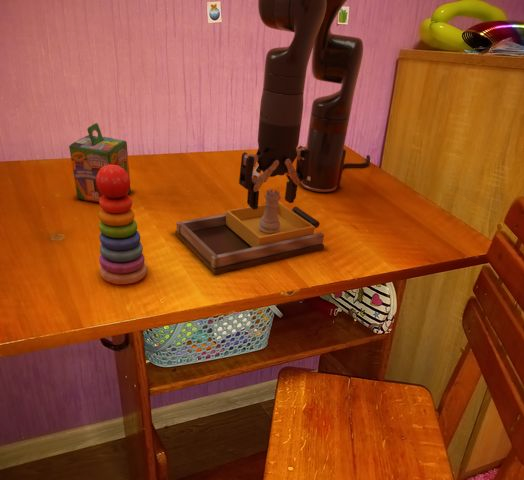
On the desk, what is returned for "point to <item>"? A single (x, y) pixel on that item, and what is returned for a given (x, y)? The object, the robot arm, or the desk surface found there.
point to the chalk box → (95, 161)
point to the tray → (290, 226)
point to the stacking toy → (118, 229)
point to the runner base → (237, 245)
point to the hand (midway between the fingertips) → (271, 204)
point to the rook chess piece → (270, 213)
